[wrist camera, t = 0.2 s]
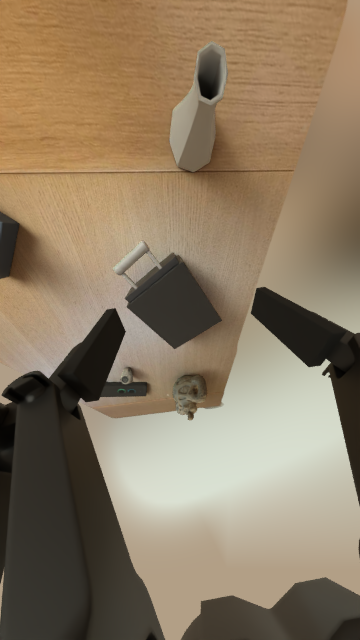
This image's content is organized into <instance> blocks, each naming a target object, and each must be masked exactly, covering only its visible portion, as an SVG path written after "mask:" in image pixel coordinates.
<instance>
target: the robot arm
mask: <svg viewBox="0 0 360 640" xmlns="http://www.w3.org/2000/svg"><path fill="white" fill-rule="evenodd" d="M251 314H252V315H253V316H254V317H255V318H256V319H257V320H259V321H260V322H261V323H262V324H263V325H264V326H265V327H266V328H267V329H268V330H269V331H271V333H273V334H274V335H275V336H276V337H277V338H278V339H279V340H280V341H281V342H282V343H283V344H284V345H286V346H287V347H288V348H289V349H290V350H291V351H292V352H293V353H294V354H295V355H296V356H297V357H298V358H300V359H301V360H302V361H303V362H304V363H305V364H306V365H307V366H308V367H313V366H320V365H321V364H322V363H323V362H324V361H325V359H327V360H328V361H330V362H331V363H330V364H329V365H328V367H327V368H326V369H325V370H324V372H323V373H322V375H324V376H325V375H326V373H328V372H329V373H330V375H329V377H330V378H331V381H332V385H333V390H334V394H335V399H336V403H337V408H338V412H339V416H340V421H341V425H342V430H343V434H344V438H345V443H346V447H347V452H348V456H349V461H350V465H351V470H352V474H353V478H354V483H355V487H356V492H357V496H358V501H359V505H360V333H356V334H354V333H352V332H350V331H348V330H346V329H344V328H343V327H341V326H339V325H337V324H335V323H333V322H331V321H328V320H327V319H326V318H323V317H321V316H320V315H318V314H316V313H314V312H311V311H308V310H307V309H304V308H303V307H301V306H299V305H297V304H295V303H293V302H292V301H290V300H288V299H286V298H284V297H282V296H280V295H278V294H277V293H275V292H273V291H271V290H269V289H267V288H266V287H261V288H257V289H256V293H255V298H254V302H253V306H252V311H251ZM125 332H126V331H125V329H124V327H123V324H122V322H121V320H120V318H119V315H118V313H117V311H116V308H114V309H107V310H106V311H105V313H104V314H103V315H102V317H101V318H100V319H99V321H98V322H97V323H96V325H95V326H94V327H93V329H92V330H91V331H90V333H89V334H88V335H87V337H86V338H85V339H84V341H83V342H82V343H79V344H78V345H77V346H75V347H74V348H73V349H72V350H71V351H70V353H69V354H68V356H66V358H65V359H64V361H62V363H61V364H60V365H59V366H58V368H57V369H56V370H55V371H54V373H53V374H52V375H51V376H50V378H49V379H48V378H47V377H46V376H45V375H44V374H43V373H41V372H40V371H33V372H29V373H27V374H25V375H23V376H21V377H19V378H18V379H16V380H15V381H13V382H12V383H11V384H10V385H8V387H7V388H6V389H5V390H4V391H3V393H2V396H4V397H5V398H7V399H9V400H11V401H12V403H9V404H7V405H4V404H2V403H0V583H1V579H2V575H3V571H4V582H3V594H2V607H1V620H0V640H165V638H164V635H163V632H162V629H161V627H160V624H159V621H158V618H157V615H156V612H155V609H154V607H153V604H152V601H151V598H150V596H149V593H148V591H147V588H146V586H145V584H144V583H143V581H142V579H141V578H140V577H139V576H138V574H137V573H136V571H135V569H134V567H133V564H132V562H131V559H130V556H129V553H128V550H127V547H126V544H125V541H124V538H123V535H122V532H121V528H120V525H119V522H118V520H117V516H116V513H115V510H114V507H113V504H112V501H111V498H110V495H109V492H108V489H107V486H106V483H105V480H104V477H103V474H102V471H101V468H100V465H99V462H98V459H97V456H96V453H95V450H94V447H93V443H92V440H91V438H90V434H89V431H88V428H87V426H86V422H85V419H84V416H83V413H82V410H81V407H80V406H79V404H78V402H79V400H80V398H82V399H83V400H84V401H85V402H90V401H97V400H99V398H100V396H101V393H102V391H103V388H104V385H105V383H106V380H107V378H108V375H109V373H110V370H111V368H112V365H113V363H114V360H115V358H116V355H117V353H118V350H119V348H120V345H121V342H122V340H123V337H124V335H125ZM359 555H360V540H359ZM4 567H5V568H4ZM181 640H360V596H359V595H358V594H355V593H354V592H352V591H350V590H348V589H346V588H344V587H342V586H341V585H339V584H337V583H335V582H333V581H331V580H329V579H328V578H320V579H315V580H310V581H305V582H299V583H295V584H294V585H293V587H292V588H291V589H290V590H289V591H288V592H287V593H286V594H285V595H284V596H283V597H282V598H281V599H280V600H279V601H278V602H277V603H276V604H275V605H274V606H273V607H272V608H271V609H266V608H263V607H261V606H258V605H255V604H253V603H250V602H247V601H245V600H242V599H240V598H237V597H235V596H227V597H221V598H217V599H211V600H206V601H201V614H200V615H199V616H198V617H197V618H196V619H195V620H194V621H193V622H192V623H191V625H190V626H189V627H188V629H187V630H186V632H185V633H184V635H183V637H182V639H181Z"/></svg>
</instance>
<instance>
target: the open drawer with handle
mask: <svg viewBox="0 0 360 640" xmlns="http://www.w3.org/2000/svg"><path fill="white" fill-rule="evenodd" d="M145 253H147V254H148V256H149V257H150V258H151V259H152V261H153V262H154V263H155V265H156V267H155V268H154V269H152V270H151V271H150V272H149V273H148V274H147V275H145V276H144V277H143V278H142V279H141V280H139V281H138V282H137V283H136V284H135V283H134V282H133V281H132V280H131V279H130V278H129V277H128V276H127V275H126V274H125V273H124V272H125V271H126V270H127V269H128V268H129V267H130V266H132V265H133V264H134V263H135V262H136V261H137V260H138V259H139V258H140V257H141V256H143V255H144V254H145ZM178 263H179V261H178V259H177V257H176V256H175V254H174V253H171V254H170V255H169V256H168V257H167V258H165V259H164V260H163V261H162V262H161V263H159V262H158V261H157V260H156V258H155V257H154V256H153V254H152V253H151V252H150V250H149V247H148V245H147V244H146V243H145V242H144V241H143V240H142V241H141V242H140V243H139V244H138V245H137V246H136V247H135V248H134V249H133V250H132V251H130V252H129V253H128V254H127V255H126V256H125V257H124V258H123V259H122V260H121V261H120V262H119V263H118V264H117V265H116V266H115V267H114V268H113V270H114V271H115V273H117V274H118V275H122V276H123V277H124V278H125V279H126V280H127V281H128V283H129V284H130V285H131V286H132V288H131V289H130V291H129V293H128V294H127V296H126V298H125V299H126V300H127V301H128V302H129V303H130V302H131V301H132V300H134V299H135V298H136V297H137V296H139V295H140V294H141V293H142V292H144V291H145V290H146V289H147V288H149V287H150V286H151V285H152V284H153V283H155V282H156V281H157V280H158V279H160V278H161V277H162V276H163V275H165V274H166V273H167V272H168V271H170V270H171V269H173V267H175V266H176V265H177V264H178Z"/></svg>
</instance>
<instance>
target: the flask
mask: <svg viewBox="0 0 360 640" xmlns="http://www.w3.org/2000/svg"><path fill="white" fill-rule="evenodd" d="M227 76H228V70H227V62H226V54H225V49H224V48H223V47H221V46H219V45H218V44H216V43H214V42H212V41H211V42H210V43H208V44H207V45H206V46H204V47H203V48H202V49H201V50H199V51H198V54H197V60H196V67H195V74H194V84H193V86H192V88H191V90H190V92H189V93H188V94H187V95H186V96H185V98H184V99H183V100H182V101H181V102H180V103H179V104H178V105H177V106H176V107H175V108H174V109H173V112H172V121H171V130H170V139H169V142H170V145H171V148H172V151H173V154H174V157H175V161H176V164H177V166H178V167H180V168H183V169H186V170H189V171H191V172H195V171H197V170H198V169H200V168H202V167H203V166H205V165H206V164H208V163H210V158H211V154H212V150H213V145H214V141H215V136H216V129H215V107H216V104H217V103H218V102H219V101H221V100H222V98H223V94H224V89H225V85H226V80H227Z"/></svg>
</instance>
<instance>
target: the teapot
mask: <svg viewBox="0 0 360 640" xmlns="http://www.w3.org/2000/svg"><path fill="white" fill-rule="evenodd" d="M206 395H207V388H206V382H205V380H204V378H203V377H202V376H200V375H196V376H194V377H193V376H182V377H181V378H179V379H178V380H177V382H176V383H175V384H174V386H173V398H174V400H175V402H176V410H177V412H178V413H179V414H181V415H184V414H186V415H188V420H192V419H193V418H194V415H193V414H194V413H195V412H196V411H197V406H196V404H197V403H202V402H204V401H205V400H206Z"/></svg>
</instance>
